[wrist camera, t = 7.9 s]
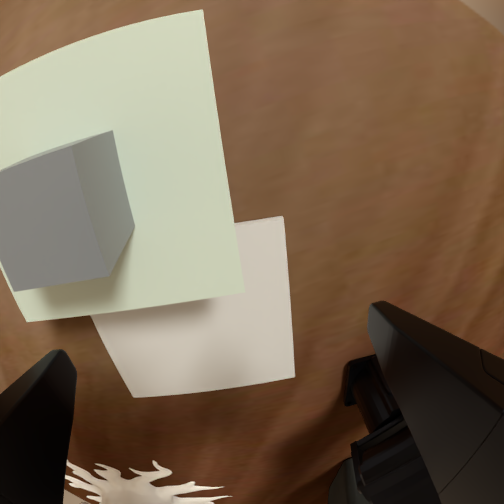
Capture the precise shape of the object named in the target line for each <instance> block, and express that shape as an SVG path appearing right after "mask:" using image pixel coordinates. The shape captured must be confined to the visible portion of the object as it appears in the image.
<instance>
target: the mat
mask: <svg viewBox="0 0 504 504" xmlns="http://www.w3.org/2000/svg"><path fill="white" fill-rule="evenodd" d="M234 225H235V231H236V238H237V244H238V250H239V256H240V262H241V269H242V275H243V281H244V287H245V292H244V293H238V294H232V295H226V296H220V297H214V298H207V299H201V300H195V301H188V302H181V303H175V304H168V305H161V306H154V307H147V308H140V309H132V310H125V311H117V312H110V313H102V314H94V315H90V316H91V318H92V320H93V322H94V325H95V327H96V329H97V331H98V333H99V335H100V337H101V339H102V341H103V343H104V345H105V347H106V349H107V351H108V353H109V355H110V356H111V358H112V360H113V362H114V364H115V366H116V368H117V369H118V371H119V373H120V375H121V377H122V378H123V380H124V382H125V384H126V385H127V387H128V389H129V391H130V392H131V394H132V396H133V397H134V398H137V397H153V396H166V395H177V394H187V393H196V392H205V391H213V390H221V389H228V388H235V387H241V386H248V385H254V384H260V383H266V382H271V381H277V380H282V379H287V378H292V377H295V369H294V352H293V335H292V320H291V305H290V291H289V278H288V265H287V252H286V241H285V229H284V218H283V216H278V217H272V218H265V219H259V220H252V221H246V222H240V223H234Z"/></svg>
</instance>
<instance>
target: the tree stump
mask: <svg viewBox="0 0 504 504" xmlns="http://www.w3.org/2000/svg"><path fill="white" fill-rule="evenodd" d="M96 465H98V466H101V467H103V468H105V469H107V470H105V471H102V470H96V469H94V470H95V472H96V473H97V474H99V475H100V476H102V477H104V478H105V479H107V480H108V481H107V480H101V479H97V478H95V477H93V476H92V475H91V474H90V473H89V472H87V471H86V470H84V469H82V468H80V467H77V466H75V465H73V464H71V463H69V462H68V460H67V466H69V467H70V468H72V469H73V470H74V471H73V473H74V474H76V475H78V476H80V477H82V478H84V479H85V480H86V481H88V482H90V483H91V484H93V485H90V484H87V483H84V482H82V481H80V480H78V479H76V478H73V477H70V476H67V475H65V479H68V480H70V481H71V482H73V483H69V484H70V485H71V486H73V487H76V488H83V489H86V490H88V491H92V492H94V493H97V494H99V495H100V497H95V496H86V497H87V498H90V499H94V500H96V501H98V502H101V503H99V504H214V503H213V502H209V501H212V500H216V499H219V498H223V497H229V496H220V497H212V498H179V497H175V496H173V495H176V494H182V493H188V492H193V491H198V490H206V489H216V488H221V487H201V486H194V484H195V482H189V483H187V484H183V485H179V486H164V487H154V486H153V485H151V484H150V483H149V482H151V481H153V480H156V479H158V478H162V477H166V476H169V475H171V474H172V471H170V470H169V469H166V468H163V467H161V466H159V465H157V462H155V461H154V460H153V465H154V466H155V467H156V468H157V469H159V470H160V471H156V472H141V471H137V470H134V469H131V468H129V469H130V470H132V471H133V472H134V473H136V474H139V475H142V476H139V477H135V478H133V479H131V480H126V479H123V478H121V477H120V475H121V472H120V471H119V470H117V469H114V468H112V467H109V466H106V465H102V464H96ZM231 497H232V496H231ZM80 504H88V503H86V502H81V503H80Z"/></svg>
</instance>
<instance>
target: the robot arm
mask: <svg viewBox="0 0 504 504" xmlns="http://www.w3.org/2000/svg"><path fill="white" fill-rule="evenodd" d="M367 328H368V334H369V336H370V339H371V342H372V344H373V347H374V350H375V353H376V354H375V355H371V356H368V357H364V358H360V359H357V360H353V361H351V362H350V363H349V364H348V370H347V379H346V387H345V394H344V401H343V402H344V405H345V406H351V405H355V404H357V406H358V408H359V410H360V413H361V415H362V417H363V420H364V422H365V424H366V427H367V429H368V431H369V435H367V436H366V437H364V438H362V439H360V440H359V441H355V442H353V443H351V444H350V445H351V451H352V452H351V455H352V461H353V467H354V473H355V479H356V485H357V490H358V492H359V493H360V494H363V496H364V497H365V499H366V500H367V501H368V502H369V503H371V504H504V359H502V358H500V357H497V356H495V355H493V354H491V353H489V352H487V351H485V350H483V349H480V348H479V347H477V346H475V345H473V344H471V343H469V342H467V341H465V340H463V339H461V338H459V337H457V336H455V335H453V334H451V333H449V332H447V331H445V330H443V329H441V328H439V327H437V326H435V325H433V324H431V323H429V322H427V321H425V320H423V319H421V318H419V317H417V316H415V315H413V314H411V313H408V312H406V311H404V310H402V309H400V308H398V307H396V306H394V305H392V304H390V303H388V302H386V301H379V302H374V303H372V304H371V305H370V307H369V315H368V326H367ZM76 382H77V371H76V368H75V366H74V365H73V363H72V361H71V360H70V358H69V356H68V355H67V353H66V352H65V351H64V350H62V349H59V350H52V351H50V352H49V353H48V354H47V355H45V356H44V357H43V358H42V359H41V360H40V361H38V362H37V363H36V364H35V365H34V366H32V367H31V368H30V369H29V370H28V371H27V372H25V373H24V374H23V375H22V376H21V377H20V378H18V379H17V380H16V381H15V382H14V383H13V384H11V385H10V386H9V387H8V388H7V389H6V390H5V391H3V392H2V393H1V394H0V504H63V496H64V484H65V474H66V465H67V457H68V449H69V442H70V436H71V429H72V423H73V415H74V403H75V392H76Z"/></svg>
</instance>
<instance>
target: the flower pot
mask: <svg viewBox="0 0 504 504" xmlns="http://www.w3.org/2000/svg"><path fill="white" fill-rule="evenodd" d="M328 504H371V503H369V502H368V501H367V500H366V499H365V497H364V496H363V494H360V493H359V492H358V490H357V485H356V479H355V473H354V467H353V461H352V458H351V459H348V460H346V461H345V462H343V464H342V466H341V468H340V470H339V472H338V473H337V475H336V477H335V479H334V481H333V483H332V485H331V486H330V488H329V496H328Z"/></svg>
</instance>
